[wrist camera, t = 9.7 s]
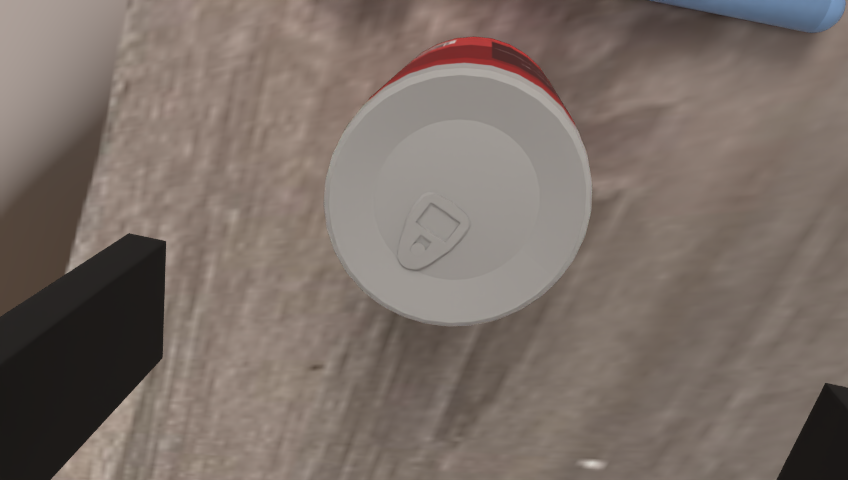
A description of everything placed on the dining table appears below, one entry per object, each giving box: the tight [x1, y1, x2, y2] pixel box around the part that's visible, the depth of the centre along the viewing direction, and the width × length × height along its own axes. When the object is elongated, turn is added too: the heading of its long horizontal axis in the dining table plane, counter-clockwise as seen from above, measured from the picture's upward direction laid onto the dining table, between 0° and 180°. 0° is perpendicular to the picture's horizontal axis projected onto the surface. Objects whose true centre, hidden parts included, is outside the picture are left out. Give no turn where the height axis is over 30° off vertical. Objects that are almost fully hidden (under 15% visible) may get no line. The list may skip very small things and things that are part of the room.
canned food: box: [324, 37, 592, 326], centre depth 23 cm, size 8×8×11 cm
